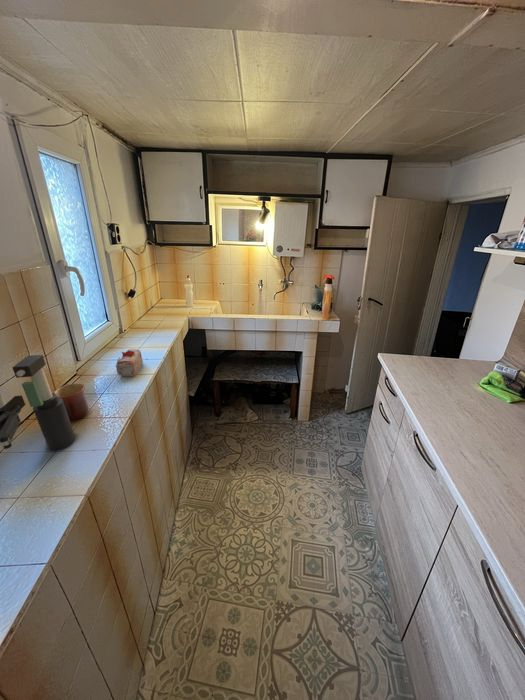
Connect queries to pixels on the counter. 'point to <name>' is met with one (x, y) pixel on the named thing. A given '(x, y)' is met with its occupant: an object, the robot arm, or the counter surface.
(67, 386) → the mug
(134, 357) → the food item
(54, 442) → the spray bottle
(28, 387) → the trigger
